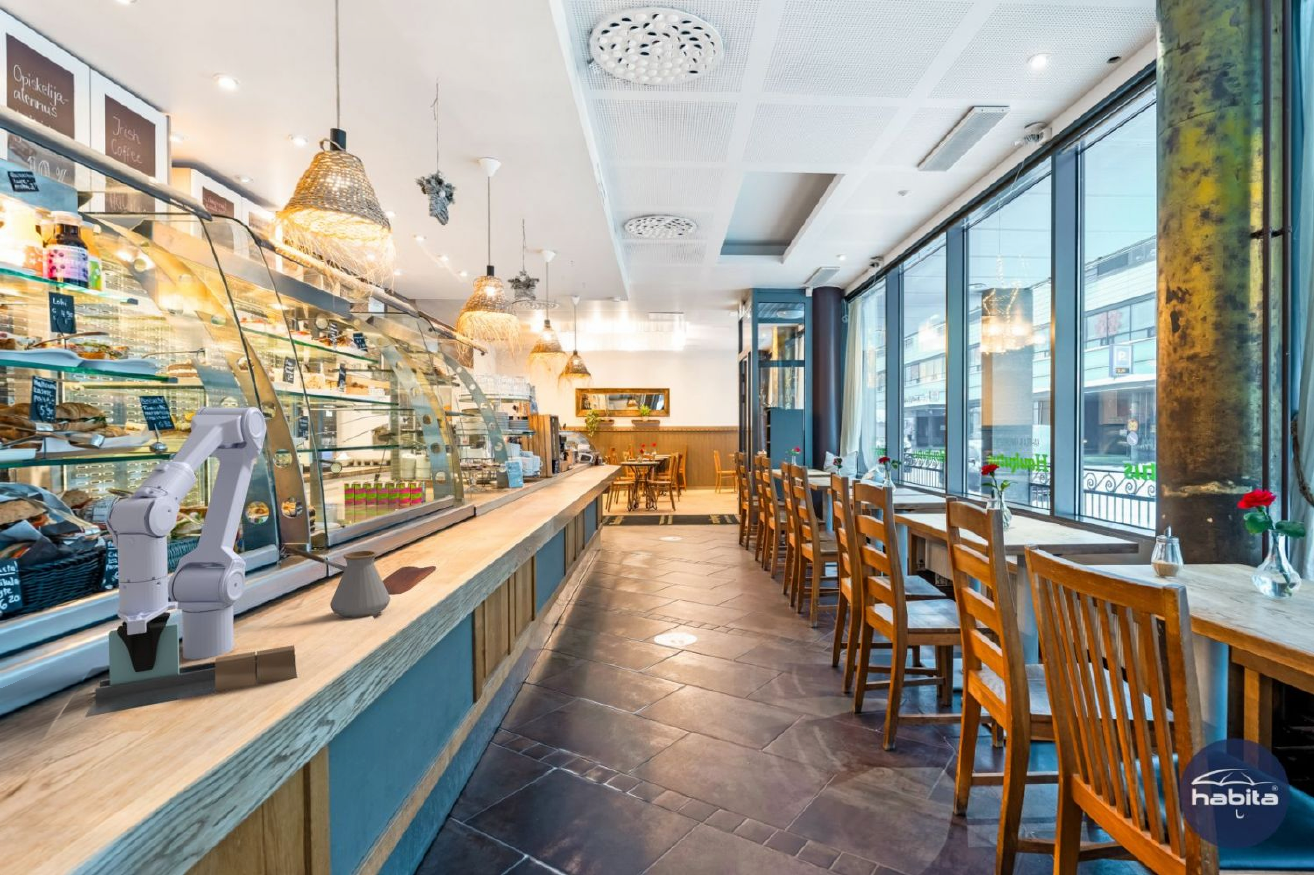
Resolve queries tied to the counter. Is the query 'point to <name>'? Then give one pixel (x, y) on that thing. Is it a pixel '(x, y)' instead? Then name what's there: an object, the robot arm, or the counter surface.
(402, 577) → the wooden tablet
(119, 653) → the teal slab
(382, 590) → the coffee pot
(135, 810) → the counter surface
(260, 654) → the offcut
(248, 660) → the offcut
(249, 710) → the counter surface
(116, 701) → the rack
